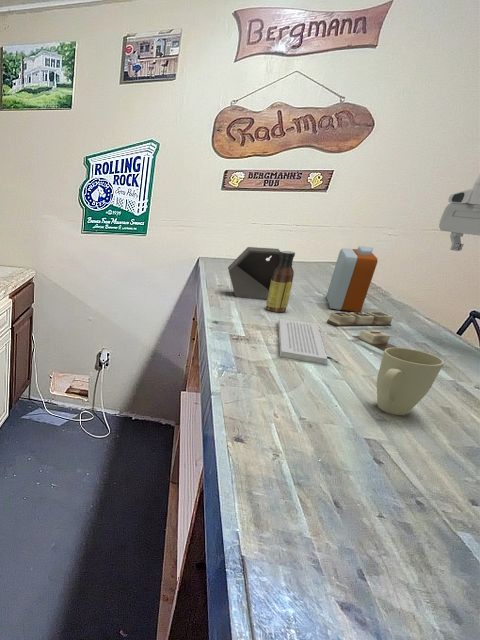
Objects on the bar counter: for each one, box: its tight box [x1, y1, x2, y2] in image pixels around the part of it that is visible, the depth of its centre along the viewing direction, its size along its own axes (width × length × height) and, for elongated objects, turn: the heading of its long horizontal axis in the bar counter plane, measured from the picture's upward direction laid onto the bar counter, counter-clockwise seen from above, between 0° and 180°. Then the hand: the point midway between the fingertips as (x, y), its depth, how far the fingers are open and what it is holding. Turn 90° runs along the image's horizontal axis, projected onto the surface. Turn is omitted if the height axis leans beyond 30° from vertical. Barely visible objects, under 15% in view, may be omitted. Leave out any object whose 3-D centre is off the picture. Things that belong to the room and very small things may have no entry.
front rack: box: [351, 329, 399, 352], centre depth 123 cm, size 6×16×4 cm, turn 3°
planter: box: [227, 246, 282, 300], centre depth 170 cm, size 17×8×21 cm
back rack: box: [326, 311, 394, 328], centre depth 142 cm, size 17×6×4 cm, turn 93°
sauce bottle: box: [265, 250, 296, 313], centre depth 153 cm, size 6×6×20 cm
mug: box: [376, 347, 445, 416], centre depth 91 cm, size 11×10×12 cm
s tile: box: [347, 311, 374, 324], centre depth 142 cm, size 5×5×3 cm
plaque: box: [277, 318, 328, 365], centre depth 129 cm, size 30×2×10 cm
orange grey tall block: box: [326, 245, 378, 312], centre depth 159 cm, size 18×9×21 cm, turn 150°
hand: (473, 253), depth 118 cm, fingers open, 8 cm apart
